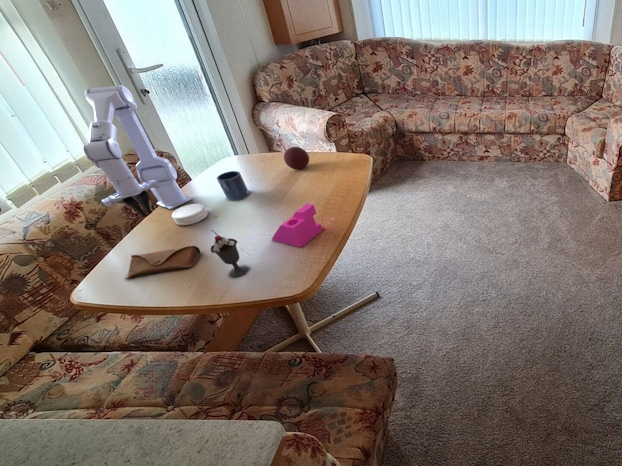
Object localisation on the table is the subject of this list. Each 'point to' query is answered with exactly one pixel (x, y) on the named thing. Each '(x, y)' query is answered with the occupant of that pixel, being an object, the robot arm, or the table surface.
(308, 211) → the bracket
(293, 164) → the decorative ball
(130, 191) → the robot arm
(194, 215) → the white round dish
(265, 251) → the table surface
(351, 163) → the table surface
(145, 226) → the table surface
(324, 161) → the table surface
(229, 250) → the sundae
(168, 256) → the sunglasses case
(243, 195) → the cup
